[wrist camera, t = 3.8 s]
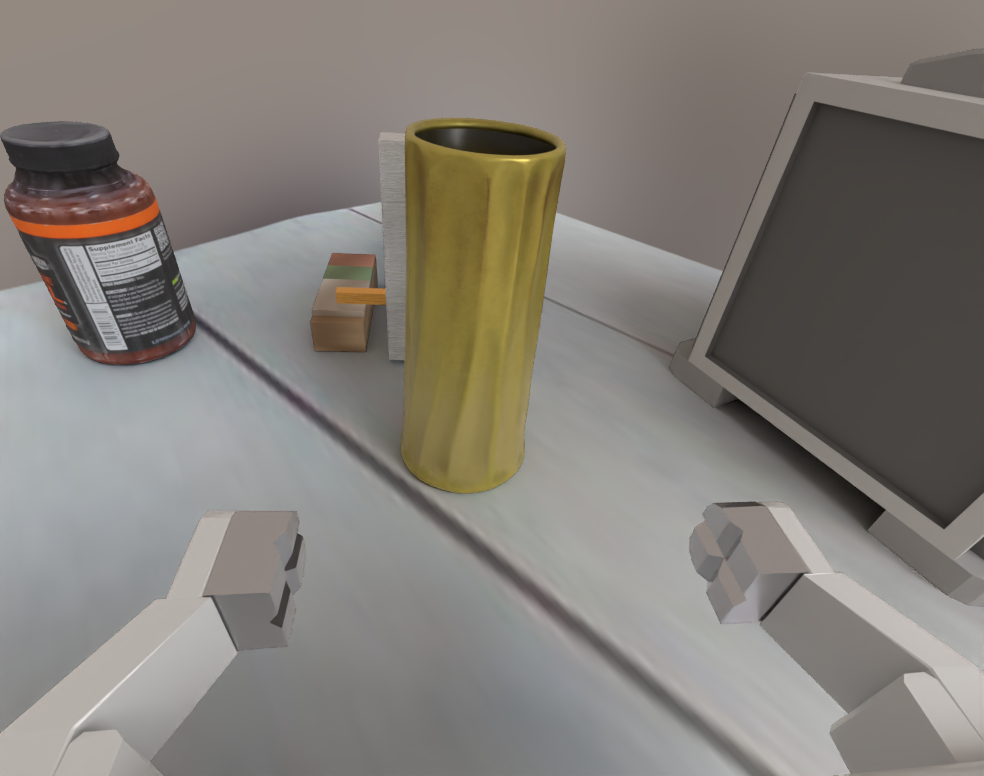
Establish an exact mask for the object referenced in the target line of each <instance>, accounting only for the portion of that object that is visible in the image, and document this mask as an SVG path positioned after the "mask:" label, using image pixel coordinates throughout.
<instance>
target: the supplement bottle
mask: <svg viewBox="0 0 984 776" xmlns="http://www.w3.org/2000/svg"><path fill="white" fill-rule="evenodd" d="M0 137H1V140H2V142H3V144H4V147H5V149H6V152H7V153H8V155H9V160H10V162H11V163H12V164H13V165H14V166H15V167H16V172H15V177H14V181H13V182H12V183H11V184H10V185H9V186H8V188H7V189H6V191H5V194H4V202H5V206H6V209H7V211H8V213H9V215H10V217H11V219H12V221H13V222H14V224H15V226H16V228H17V229H18V231H19V235H20V237H21V239H22V241H23V242H24V244H25V247H26V249H27V250H28V252H29V254H30V256H31V258H32V260H33V262H34V264H35V265H36V267H37V269H38V271H39V273H40V275H41V277H42V279H43V281H44V282H45V285H46V287H47V288H48V291H49V292H50V294H51V296H52V298H53V300H54V302H55V305H56V306H57V308H58V310H59V312H60V314H61V316H62V318H63V319H64V321H65V323H66V327H67V328H68V330H69V331H70V333H71V335H72V338H73V340H74V341H75V342H76V343H77V345H78V347H79V348H80V350H81V351H82V352H83V353H84V354H85V355H86V356H87V357H89V358H91V359H93V360H95V361H98V362H101V363H106V364H115V365H120V364H137V363H144V362H149V361H152V360H155V359H158V358H162V357H165V356H166V355H169V354H171V353H173V352H175V351H178V350H180V349H181V348H182V347H183V346H184V345H185V344H186V343H187V342H188V341H190V339H191V338H192V337H193V335H194V332H195V328H196V323H195V319H194V316H193V311H192V308H191V305H190V302H189V299H188V296H187V292H186V289H185V287H184V284H183V280H182V277H181V274H180V271H179V268H178V264H177V262H176V258H175V255H174V252H173V250H172V246H171V244H170V240H169V237H168V234H167V231H166V228H165V225H164V222H163V219H162V216H161V213H160V210H159V208H158V204H157V201H156V198H155V195H154V194H153V191H152V189H151V187H150V186H149V184H148V183H147V182H146V181H145V180H144V179H143V178H142V177H140V176H138V175H137V174H135V173H133V172H130V171H127V170H125V169H122V168H121V167H120V166H118V165H117V161H118V159H119V153H118V151H117V150H116V148H115V145H114V143H113V140H112V137H111V135H110V132H109V131H108V129H106V128H104V127H102V126H98V125H95V124H90V123H82V122H64V121H60V122H43V123H32V124H23V125H18V126H14V127H11V128H8V129H6V130H5V131H3V132H2V133H1V135H0Z"/></svg>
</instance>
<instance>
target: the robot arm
mask: <svg viewBox="0 0 984 776" xmlns="http://www.w3.org/2000/svg"><path fill="white" fill-rule="evenodd" d="M703 517H704V519H705V521H704V522H702V523H701V524H699V525H698V526H696V527H695V528H694V530H693V532H692V534H691V536H690V544H689V551H690V555H691V560H692V562H693V565H694V567H695V569H696V572H697V573H698V574H700V575H701V576H702V577H703V578H704V579H705V580H707V581H708V586H707V590H706V594H707V596H708V598H709V600H710V602H711V604H712V606H713V609H714V611H715V613H716V615H717V617H718V619H719V622H720V624H739V623H761V624H760V626H761V627H762V628H763V629H764V630H765V631H766V632H767V633H768V634H769V635H770V636H771V637H772V638H773V639H774V640H775V641H776V642H777V643H778V644H779V645H780V646H781V647H782V648H783V649H784V650H785V651H786V652H787V653H788V654H789V655H790V656H791V657H792V658H793V659H794V660H795V661H796V662H797V663H798V664H799V665H800V666H801V667H802V668H803V669H804V670H805V671H806V672H807V673H808V674H809V675H810V676H811V677H812V678H813V679H814V680H815V681H816V682H817V683H818V684H819V685H820V686H821V687H822V688H823V689H824V690H825V691H826V692H827V693H828V694H829V695H830V696H831V697H832V698H833V699H834V700H835V701H836V702H837V703H838V704H839V705H840V706H841V707H842V708H843V709H844V710H845V711H846V712H847V713H848V714H847V715H845V716H844V717H843V718H841V719H840V720H838V721H837V722H836V723H834V724H833V725H832V726H831V729H830V732H829V733H830V735H831V737H832V739H833V741H834V743H835V745H836V747H837V749H838V750H839V752H840V754H841V756H842V758H843V760H844V762H845V764H846V766H847V768H848V769H849V771H850V773H851V774H844V775H834V776H984V675H983V673H982V672H981V671H980V670H979V668H978V667H977V666H975V665H974V664H972V663H971V662H970V661H968V660H967V659H965V658H964V657H962V656H961V655H960V654H958V653H957V652H955V651H954V650H952V649H951V648H950V647H948V646H947V645H945V644H944V643H942V642H941V641H940V640H938V639H937V638H935V637H934V636H932V635H931V634H930V633H928V632H927V631H925V630H924V629H922V628H921V627H920V626H918V625H917V624H915V623H914V622H912V621H911V620H910V619H908V618H907V617H905V616H904V615H902V614H901V613H900V612H898V611H897V610H895V609H894V608H892V607H891V606H889V605H888V604H887V603H885V602H884V601H882V600H881V599H879V598H878V597H877V596H875V595H874V594H872V593H871V592H869V591H868V590H867V589H865V588H864V587H862V586H861V585H859V584H858V583H857V582H855V581H854V580H852V579H851V578H849V577H848V576H847V575H845V574H844V573H842V572H835V571H834V570H833V568H832V567H831V566H830V564H829V563H828V561H827V560H826V558H825V557H824V556H823V554H822V553H821V551H820V550H819V548H818V547H817V546H816V544H815V543H814V541H813V540H812V538H811V537H810V536H809V534H808V533H807V531H806V530H805V528H804V527H803V526H802V524H801V523H800V521H799V520H798V518H797V517H796V516H795V514H794V513H793V511H792V510H791V508H790V507H789V506H787V505H786V504H785V503H783V502H758V503H757V502H732V503H712V504H711V505H709V506H707V507H706V509H705V511H704V512H703ZM299 523H300V522H299V518H298V514H297V511H207V512H206V513H205V514H204V515H203V517H202V518H201V519H200V520H199V522H198V525H197V527H196V529H195V532H194V534H193V536H192V538H191V541H190V543H189V545H188V548H187V550H186V552H185V554H184V557H183V559H182V561H181V564H180V566H179V568H178V571H177V573H176V575H175V577H174V580H173V582H172V584H171V587H170V589H169V591H168V593H167V596H166V598H163V599H155V600H154V601H153V602H152V603H151V604H149V605H148V606H147V607H146V608H145V609H144V610H142V611H141V612H140V613H139V614H138V615H137V616H136V617H134V618H133V619H132V620H131V621H130V622H129V623H127V624H126V625H125V626H124V627H123V628H122V629H120V630H119V631H118V632H117V633H116V634H115V635H113V636H112V637H111V638H110V639H109V640H108V641H107V642H105V643H104V644H103V645H102V646H101V647H100V648H98V649H97V650H96V651H95V652H94V653H93V654H91V655H90V656H89V657H88V658H87V659H86V660H84V661H83V662H82V663H81V664H80V665H79V666H78V667H76V668H75V669H74V670H73V671H72V672H71V673H69V674H68V675H67V676H66V677H65V678H64V679H62V680H61V681H60V682H59V683H58V684H57V685H55V686H54V687H53V688H52V689H51V690H50V691H49V692H47V693H46V694H45V695H44V696H43V697H42V698H40V699H39V700H38V701H37V702H36V703H35V704H33V705H32V706H31V707H30V708H29V709H28V710H26V711H25V712H24V713H23V714H22V715H21V716H20V717H18V718H17V719H16V720H15V721H14V722H13V723H11V724H10V725H9V726H8V727H7V728H6V729H4V730H3V731H2V732H1V733H0V776H164V775H163V774H162V773H161V772H160V771H159V770H158V769H157V768H155V767H154V766H153V765H152V764H151V763H150V762H151V760H152V759H153V758H154V757H155V755H156V754H157V753H158V752H159V750H160V749H161V748H162V747H163V746H164V744H165V743H166V742H167V741H168V739H169V738H170V737H171V736H172V734H173V733H174V732H175V731H176V729H177V728H178V727H179V726H180V724H181V723H182V722H183V721H184V720H185V718H186V717H187V716H188V715H189V713H190V712H191V711H192V710H193V708H194V707H195V706H196V705H197V703H198V702H199V701H200V700H201V698H202V697H203V696H204V695H205V694H206V692H207V691H208V690H209V689H210V687H211V686H212V685H213V684H214V682H215V681H216V680H217V679H218V677H219V676H220V675H221V674H222V672H223V671H224V670H225V669H226V668H227V666H228V665H229V664H230V663H231V661H232V660H233V659H234V658H235V656H236V655H237V651H239V650H252V649H264V648H277V647H288V644H289V639H290V635H291V630H292V626H293V621H294V616H295V612H296V609H295V605H294V601H293V597H292V596H293V595H294V594H295V592H296V591H297V590H298V589H299V588H300V587H301V584H302V579H303V574H304V565H305V544H304V539H303V537H302V536H301V535H300V534H298V533H297V532H298V527H299Z"/></svg>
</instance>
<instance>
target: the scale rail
mask: <svg viewBox="0 0 984 776" xmlns="http://www.w3.org/2000/svg"><path fill="white" fill-rule="evenodd" d="M377 284H378V283H377V267H376V256H375V255H367V254H343V253H332V255H331V258H330V261H329V263H328V266H327V269H326V272H325V274H324V277H323V280H322V283H321V285H320V288H319V291H318V294H317V296H316V299H315V302H314V305H313V307H312V319H311V321H310V324H311V331H312V337H313V343H314V350H315V351H351V352H366V347H367V341H368V335H369V329H370V324H371V318H372V312H373V307H374V305H370V304H337V302H336V293H335V292H336V289H337V287H354V288H377Z"/></svg>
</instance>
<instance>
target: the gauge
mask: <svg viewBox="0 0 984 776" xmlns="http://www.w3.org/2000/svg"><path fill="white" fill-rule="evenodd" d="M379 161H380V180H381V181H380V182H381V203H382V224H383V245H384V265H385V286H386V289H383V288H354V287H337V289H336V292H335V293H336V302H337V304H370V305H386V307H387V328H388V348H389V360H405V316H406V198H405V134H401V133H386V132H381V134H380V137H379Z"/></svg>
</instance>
